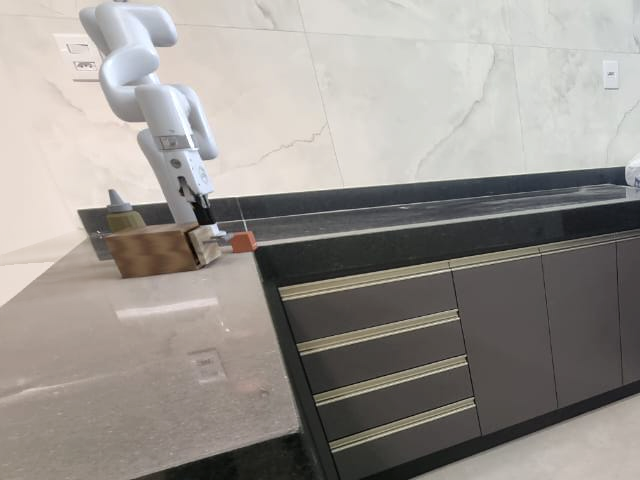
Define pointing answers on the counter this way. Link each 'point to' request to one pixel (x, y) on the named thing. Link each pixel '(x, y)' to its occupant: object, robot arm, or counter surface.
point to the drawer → (205, 243)
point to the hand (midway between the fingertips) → (208, 224)
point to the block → (243, 242)
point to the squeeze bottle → (121, 214)
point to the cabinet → (152, 250)
